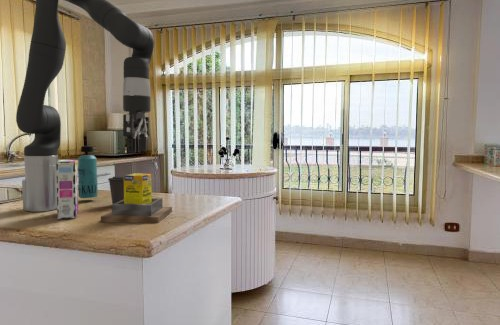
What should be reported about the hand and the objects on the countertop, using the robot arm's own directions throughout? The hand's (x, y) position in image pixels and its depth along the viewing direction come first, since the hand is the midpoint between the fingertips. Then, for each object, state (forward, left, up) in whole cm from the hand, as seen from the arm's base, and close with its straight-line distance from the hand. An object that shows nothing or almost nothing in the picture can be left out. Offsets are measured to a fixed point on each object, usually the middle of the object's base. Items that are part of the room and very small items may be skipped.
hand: (137, 151), depth 100 cm
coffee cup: (-12, +16, -19) cm, 28 cm away
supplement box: (0, 0, -18) cm, 18 cm away
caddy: (0, 0, -19) cm, 19 cm away
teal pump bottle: (-27, +23, -19) cm, 40 cm away
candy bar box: (-21, 0, -19) cm, 28 cm away
